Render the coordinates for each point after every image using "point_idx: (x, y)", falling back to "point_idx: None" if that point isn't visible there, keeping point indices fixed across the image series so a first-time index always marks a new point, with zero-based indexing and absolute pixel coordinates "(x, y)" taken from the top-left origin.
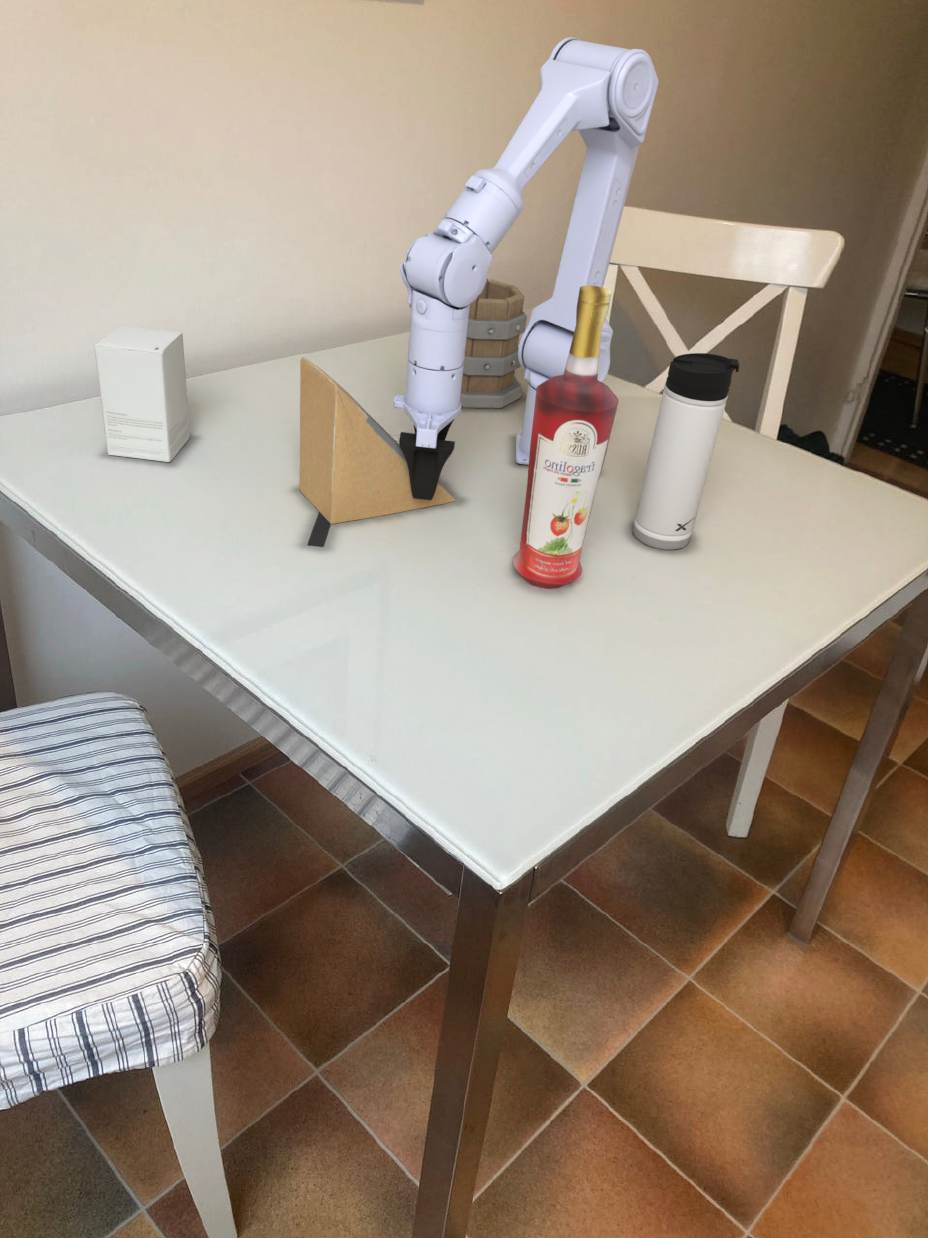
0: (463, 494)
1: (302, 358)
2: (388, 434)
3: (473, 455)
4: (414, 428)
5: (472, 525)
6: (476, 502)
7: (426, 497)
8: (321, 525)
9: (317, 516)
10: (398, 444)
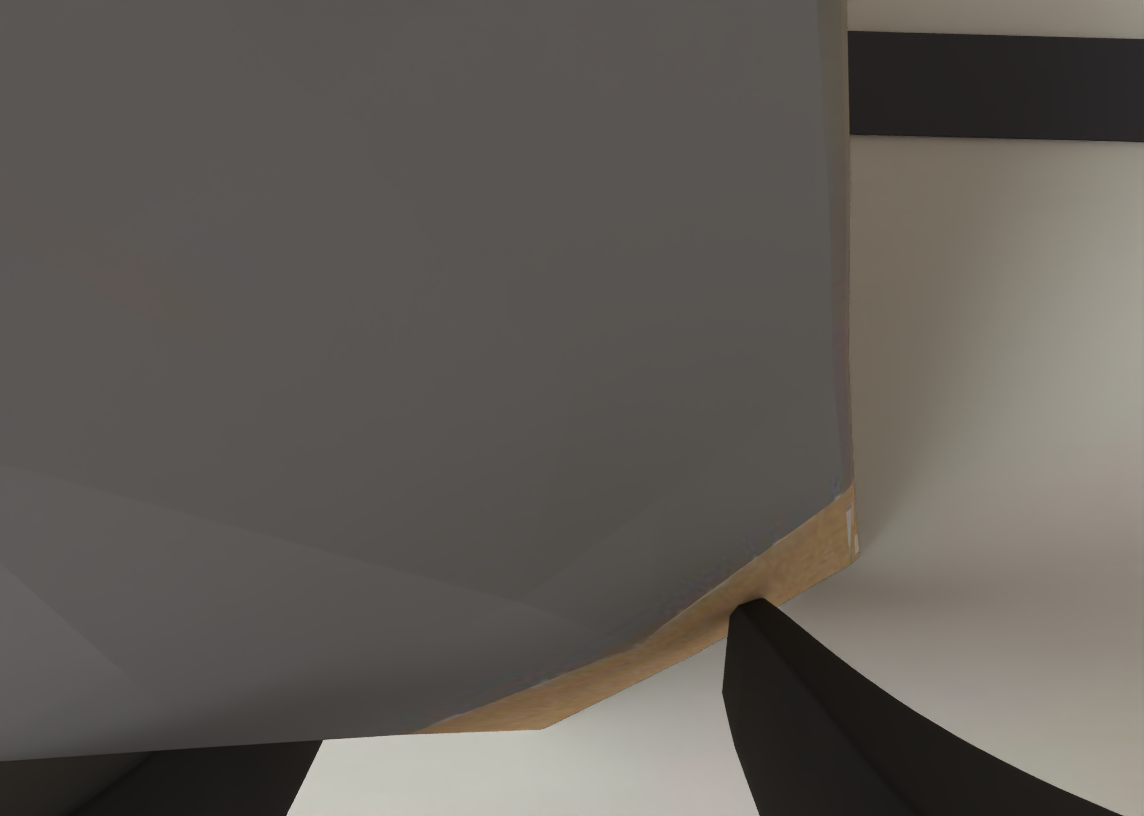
0: (616, 754)
1: None
2: (12, 703)
3: (1065, 785)
4: (854, 751)
5: (316, 796)
6: (547, 806)
7: None
8: None
9: None
10: (134, 728)
